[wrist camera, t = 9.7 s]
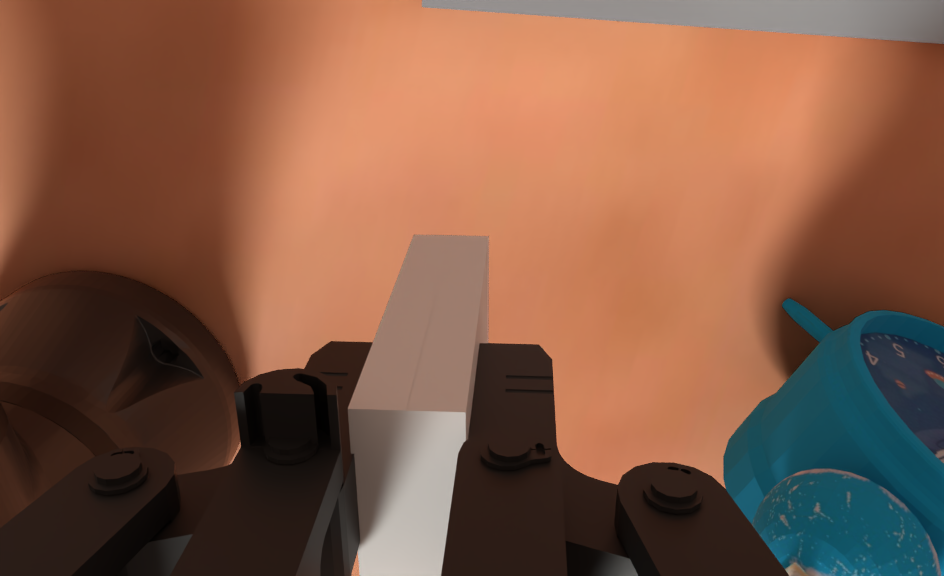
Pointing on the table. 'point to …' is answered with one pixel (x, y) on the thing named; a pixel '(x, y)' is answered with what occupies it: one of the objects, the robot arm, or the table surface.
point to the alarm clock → (850, 452)
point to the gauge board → (745, 14)
